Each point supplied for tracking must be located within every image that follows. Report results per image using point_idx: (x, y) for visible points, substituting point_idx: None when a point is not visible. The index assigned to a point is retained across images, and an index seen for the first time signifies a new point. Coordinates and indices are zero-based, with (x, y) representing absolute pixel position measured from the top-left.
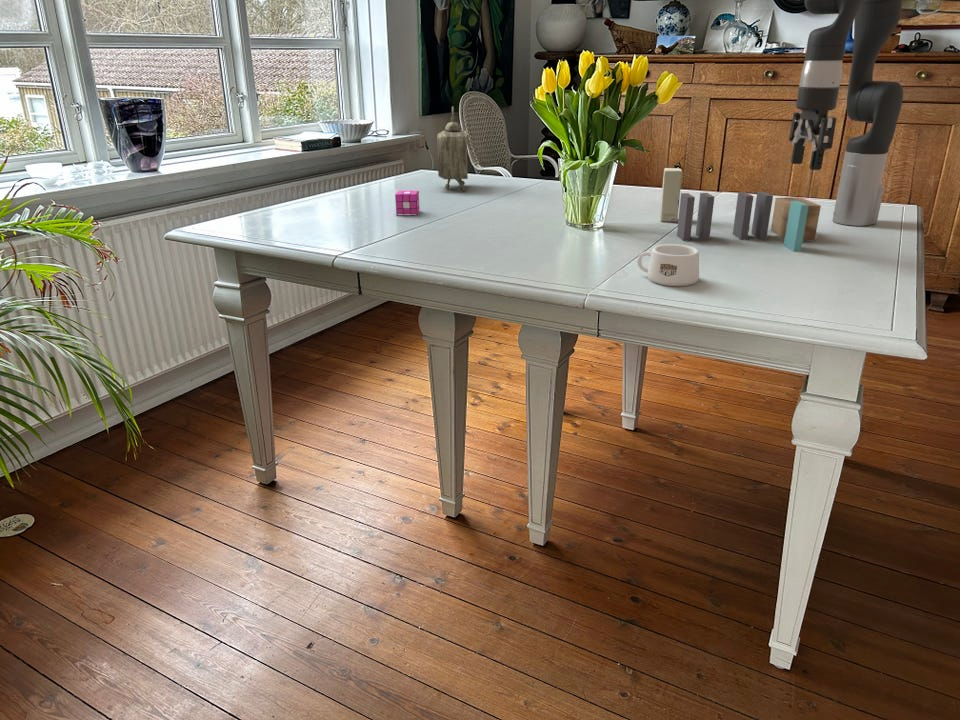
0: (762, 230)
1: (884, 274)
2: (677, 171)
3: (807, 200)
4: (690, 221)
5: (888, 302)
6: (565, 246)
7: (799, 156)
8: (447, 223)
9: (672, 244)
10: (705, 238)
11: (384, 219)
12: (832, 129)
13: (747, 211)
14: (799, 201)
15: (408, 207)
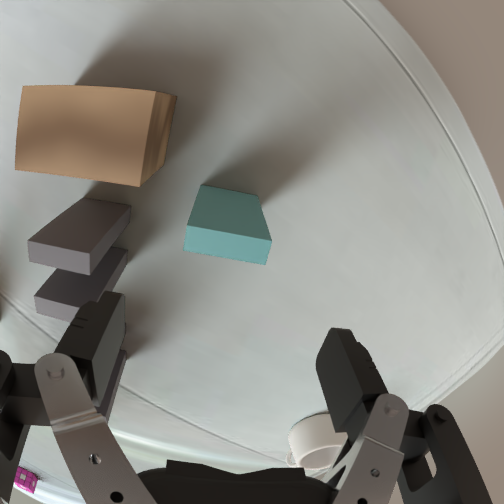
0: (123, 226)
1: (445, 164)
2: None
3: (68, 88)
4: (117, 380)
5: (498, 262)
6: (148, 459)
7: (112, 334)
8: (57, 475)
9: (301, 458)
10: (124, 331)
11: (53, 487)
12: (476, 495)
13: None
14: (203, 230)
15: (33, 481)
